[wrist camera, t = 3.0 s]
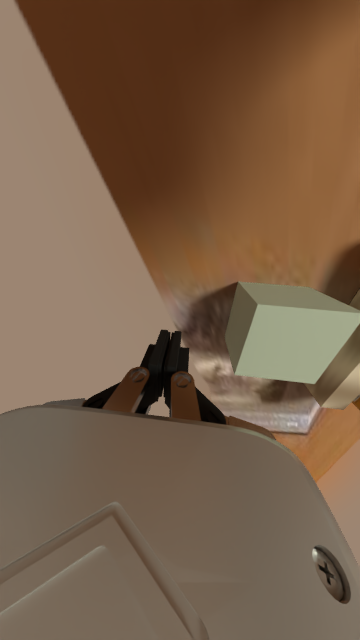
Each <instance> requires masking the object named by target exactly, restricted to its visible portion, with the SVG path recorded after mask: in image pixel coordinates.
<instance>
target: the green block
mask: <svg viewBox="0 0 360 640" xmlns="http://www.w3.org/2000/svg"><path fill="white" fill-rule="evenodd" d="M359 324H360V310H357V309H355V308H353V307H351V306H349V305H347V304H345V303H342V302H340V301H338V300H336V299H334V298H332V297H329V296H327V295H325V294H323V293H321V292H319V291H316V290H314V289H312V288H310V287H300V286H287V285H274V284H262V283H249V282H238V284H237V288H236V292H235V296H234V300H233V304H232V308H231V312H230V316H229V321H228V325H227V329H226V333H225V341H226V345H227V349H228V352H229V356H230V360H231V364H232V367H233V371H234V375H241V376H250V377H258V378H267V379H275V380H284V381H293V382H301V383H310V384H315V383H316V382H317V380H318V379H319V378H320V376H321V375H322V374H323V372H324V371H325V369H326V368H327V367H328V365H329V364H330V363H331V361H332V360H333V359H334V357H335V356H336V355H337V353H338V352H339V351H340V349H341V348H342V347H343V345H344V344H345V343H346V341H347V340H348V339H349V337H350V336H351V335H352V333H353V332H354V331H355V329H356V328H357V326H358V325H359Z"/></svg>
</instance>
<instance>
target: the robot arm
mask: <svg viewBox="0 0 360 640" xmlns="http://www.w3.org/2000/svg"><path fill="white" fill-rule="evenodd" d="M180 344H181V331H175V333H172V336H171V339H170V332H168V330H161V331H160V334H159V337H158V340H157V342H156V345H153V344H150V345H149V347H148V349H147V351H146V354H145V356H144V358H143V360H142V363H141V365H140V367H136V368H133V369H131V370H130V371H129V372H128V373H127V374H126V376H125V377H124V378H123V380H122V381H121V382H120V383H118V384H116V385H114V386H112V387H110V388H108V389H106V390H104V391H102V392H100V393H98V394H96V395H94V396H92V397H91V398H89V399H88V400H85V398H81V399H71V400H61V401H51V402H47V403H45V404H43V405H35V406H27V407H23V408H19V409H15V410H11V411H8V412H5V413H3V414H0V640H360V567H359V565H358V563H357V561H356V559H355V557H354V555H353V553H352V551H351V549H350V547H349V545H348V543H347V541H346V539H345V537H344V535H343V533H342V531H341V529H340V527H339V526H338V523H337V522H336V519H335V517H334V516H333V514H332V512H331V510H330V508H329V506H328V504H327V502H326V501H325V499H324V497H323V495H322V493H321V491H320V490H319V488H318V486H317V484H316V483H315V481H314V479H313V478H312V476H311V474H310V473H309V471H308V470H307V468H306V467H305V466H304V464H303V463H302V462H301V460H300V459H299V458H298V457H297V456H296V455H295V454H294V453H293V452H292V451H291V450H289V449H288V448H287V447H285V446H284V445H282V444H281V443H279V442H277V441H276V439H275V437H274V436H273V434H272V433H271V432H270V431H268V430H267V429H265V428H263V427H261V426H258V425H255V424H252V423H249V422H246V421H244V420H241V419H238V418H235V417H232V416H229V417H227V416H224V415H223V413H222V412H221V411H220V410H219V409H218V408H217V407H216V406H215V405H214V404H213V403H212V402H211V401H209V400H208V399H207V398H206V397H205V396H204V395H203V394H202V393H201V392H200V391H199V390H198V389H197V388H196V387H195V384H194V379H193V377H192V376H191V375H190V374H189V373H188V361H189V348H182V347H180ZM163 387H164V397H165V404H166V405H167V406H168V407H169V409H170V411H169V412H170V413H169V414H170V416H169V417H162V416H154V415H148V413H149V411H150V408H151V405H152V404H153V403H154V402H156V401H158V398H159V397H161V396H162V392H163Z"/></svg>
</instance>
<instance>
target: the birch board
mask: <svg viewBox="0 0 360 640" xmlns="http://www.w3.org/2000/svg"><path fill="white" fill-rule="evenodd" d="M349 306H351V307H353V308H355V309H357V310H360V289H359V291H358V292H357V294H356V295H355V297H354V298H353V300H352V301H351V303H350V304H349ZM304 384H305V386H306V387H307V388H308V390H309V391H310V393H311V394H312V395H313V397H314V398H315V399H316V401H317V402H318V404H319V405H320V406H321V407H326V408H333V409H341V410H344V409H345V408H346V407H347V406H348V405H349V404H350V403H351V402H352V401H353V400H354V399H355V398H356V397H357V396H358V395H359V394H360V324H359V325H358V326H357V328H356V329H355V331H354V332H353V333H352V335H351V336H350V337H349V339H348V340H347V341H346V343H345V344H344V345H343V347H342V348H341V349H340V351H339V352H338V353H337V355H336V356H335V357H334V359H333V360H332V361H331V363H330V364H329V365H328V367H327V368H326V369H325V371H324V372H323V374H322V375H321V376H320V378H319V379H318V380H317V382H316V383H315V384H310V383H304Z"/></svg>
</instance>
